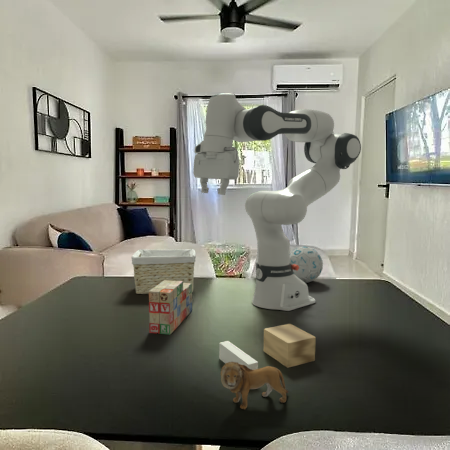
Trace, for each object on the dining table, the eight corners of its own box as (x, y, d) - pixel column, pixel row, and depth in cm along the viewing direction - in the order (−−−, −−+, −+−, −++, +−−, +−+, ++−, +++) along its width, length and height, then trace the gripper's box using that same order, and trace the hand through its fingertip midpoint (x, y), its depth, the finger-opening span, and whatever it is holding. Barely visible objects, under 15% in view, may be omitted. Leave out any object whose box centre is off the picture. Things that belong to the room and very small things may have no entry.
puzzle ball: (314, 288, 159) (315, 251, 157) (279, 283, 167) (280, 247, 165) (327, 280, 171) (328, 246, 170) (294, 276, 179) (295, 243, 178)
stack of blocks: (174, 309, 133) (173, 272, 131) (192, 310, 132) (192, 274, 130) (149, 333, 112) (148, 290, 111) (170, 335, 111) (169, 291, 109)
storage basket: (131, 295, 148) (130, 256, 147) (137, 284, 164) (136, 248, 163) (195, 294, 150) (195, 255, 148) (196, 283, 166) (196, 248, 164)
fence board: (228, 356, 97) (228, 340, 97) (257, 379, 86) (258, 362, 85) (219, 358, 96) (219, 342, 96) (248, 382, 85) (248, 364, 84)
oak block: (289, 345, 104) (289, 323, 104) (314, 361, 95) (315, 337, 95) (263, 351, 101) (263, 328, 100) (287, 368, 92) (288, 343, 91)
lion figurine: (226, 418, 72) (227, 370, 71) (215, 403, 77) (215, 358, 76) (295, 400, 78) (296, 356, 77) (280, 387, 83) (281, 345, 82)
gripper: (246, 148, 114) (241, 196, 115) (208, 150, 131) (204, 193, 132) (228, 144, 110) (223, 194, 111) (191, 147, 127) (187, 191, 128)
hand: (212, 193), depth 122 cm, fingers open, 8 cm apart
